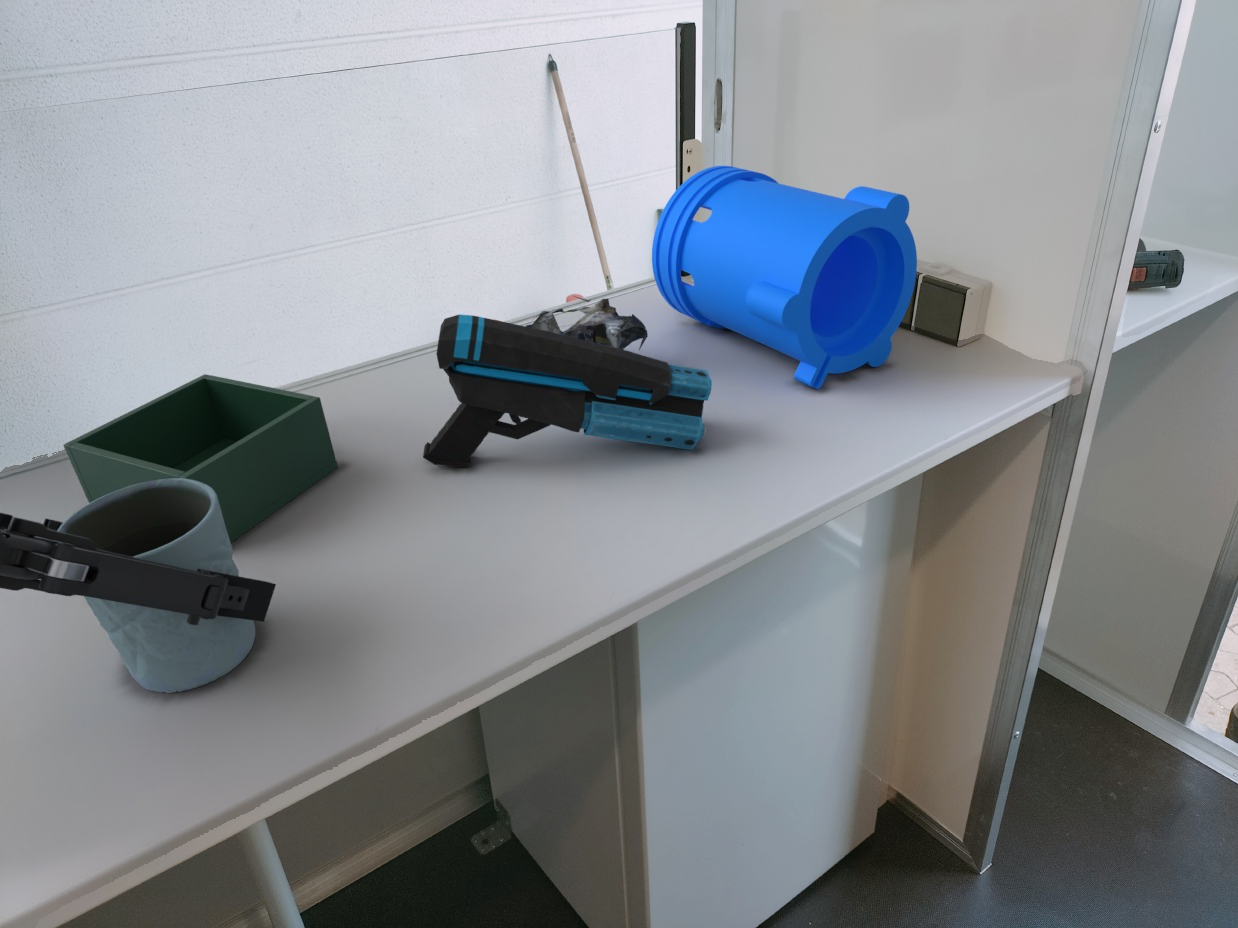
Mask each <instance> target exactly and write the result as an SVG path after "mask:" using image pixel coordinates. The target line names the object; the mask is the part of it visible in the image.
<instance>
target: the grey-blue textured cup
mask: <svg viewBox="0 0 1238 928" xmlns="http://www.w3.org/2000/svg"><path fill="white" fill-rule="evenodd" d="M57 531H59V532H63V533H68V534H72V535H76V536H81V537H85V538H88V539H90V540H91V541H92V542H93V543H94V545H95V548H96V549H99V550H104V551H108V552H113V553H117V554H122V555H126V556H131V557H135V558H139V559H144V560H148V561H153V562H157V563H162V564H166V565H171V566H175V567H180V568H184V569H189V570H193V571H197V570H198V569H203V570H208V571H213V572H218V573H224V574H229V575H234V576H239V577H240V575H239V569H238V567H237V565H236V562H235V561H234V559H233V546H232V542H231V543H230V540H229V536H228V533H227V530H226V527H225V523H224V519H223V516H222V512H221V509H220V505H219V501H218V498H217V494H216V493H215V491H214V490H213V489H212V488H211V487H210V486H208V485H206V484H204V483H201V482H198V481H195V480H191V479H185V478H172V479H160V480H154V481H149V482H144V483H139V484H135V485H132V486H128V487H125V488H122V489H120V490H117V491H114V492H112V493H109V494H107V495H105V496H102V497H100V498H98V499H96V500H94V501H92V502H91V503H89V502H88V503H87V504H86V505H84V506H81V508H79V509H78V510H77V511H75V512H74V513H72V514H71V515H70V516H69V517H68V518H67V519H66V520H65V521H64V522H63V524H62V525H61V526H60V527H59V528H58V530H57ZM54 541H55V540H54ZM57 542H59V541H57ZM60 543H62V544H63V543H64V542H60ZM72 545H73V544H72ZM73 547H76V546H75V545H73ZM83 597H84V599H85V601H86V602H87V605H88V606H89V608H90V610H91V611H92V613H93V614H94V616H95V617H96V619H97V621H98V622H99V625H100V627H101V628H102V629H103V630H104V631H105V632H106V633H107V635H108V636H109V640H110V642H111V643H112V644H113V646H114V647H115V649H116V650H117V653H118V654H119V657H120V659H121V661H122V662H123V664H124V665H125V667H126V670H127V671H128V672H129V674H130V675H131V677H132V678H133V679H134V680H135V681H136V682H137V684H138V685H139V686H141V687H142V688H144V689H145V690H147V691H150V692H155V693H166V694H173V693H176V692H179V693H182V692H184V691H190V690H192V689H196V688H198V687H201V686H204V685H208V684H209V683H211V682H213V681H216V680H218V678H221V677H224V676H225V675H227V674H228V673H229V672H231V671H233V670H234V669H235V668H236V667H237V666H239V664H240V663H242V661H243V660H244V659H245V658H246V657H247V655H248V654H250V652H251V650H252V648H253V646H254V642H255V640H256V626H255V625H256V624H255V621H254V620H247V619H239V618H231V617H223V616H216V618H215V619H209V620H207V619H202V618H200V620H199V623H198V625H191V624H188V623H187V619H188V616H189V614H184V613H178V612H173V611H167V610H161V609H155V608H150V607H144V606H138V605H133V604H127V603H121V602H115V601H110V600H104V599H98V598H92V597H87V596H83Z"/></svg>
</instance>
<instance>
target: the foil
mask: <svg viewBox="0 0 1238 928" xmlns="http://www.w3.org/2000/svg"><path fill="white" fill-rule="evenodd" d="M573 298H577V299H579V300H582V301H584V302H586V303H589V302H591V300H590V299H586V298H582V297H578V296H575V295H573ZM578 311H579V312H581V313H583V314H584V316H582V317H581V318H579V320H577V321H576V322H575V323H573V324H571V325H570V324H568V325H566V327H568V326H570V327H569V328H567V329H565V330H564V331H562V330H561V329H560V328H563V327H564V325H563V326H561V327H560V326H559V324H558V321H557V319H556V317H555V314H557V313H563V314H566V313H575V312H578ZM532 321H534V322H533V323H531V324H529V323H528V324H526V325H524V326H525V327H530V328H535V329H540V330H544V331H549V332H553V333H557V334H561V335H565V336H569V337H573V338H577V339H581V340H586V341H590V342H594V343H598V344H602V345H606V346H610V347H614V348H618V349H622V350H625V348H627V347H628V346H630V345H632V343H633V342H636V341H638V340H641V342H640V344H639V348H638V351H640V350H641V349H642V347H643V345H644V343H645V342H646V340H647V338H648V335H649V334H648V330H647V327H646V325H645V324H644V323H643V322H642V321H641V320H640V319H639V318H638V317H637V316H636V315H635V314H634V313H632V314H631V315H619V313H618V312H617V307H614V306H612V305H611V304H610V301H609V298H602V299H600V300H599V302H597V303H595V304H594V305H593V306H583V305H582V306H580V307H579V308H575V309H568V310H564V309H563V308H558V309H552V310H551V311H549V310H543V311H541V312H540V313H539V314H537V317H534V318H533V319H532Z"/></svg>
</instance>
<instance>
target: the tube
mask: <svg viewBox="0 0 1238 928" xmlns="http://www.w3.org/2000/svg"><path fill="white" fill-rule="evenodd" d="M700 208H702V209H706V210H709V211H711V214H710V215H709V217H708V218H707V219H706V220H705V221H702V222H700V221H697V220H695V219H694V218H695V216H696V214H697V213H698V211H699V210H700ZM909 213H910V201H909V199H908V197H907V195H904V194H901V193H896V192H892V191H887V190H882V189H877V188H873V187H869V186H865V185H864V186H863V185H861V186H856V187H853V188H852V189H850V190H849V191H848V192H847V193H846V195H845V197H844V198H843V197H839V196H838V197H837V196H833V195H829V194H825V193H820V192H817V191H812V190H808V189H804V188H799V187H796V186H791V185H786V184H783V183H779V182H778V181H777V180H776V179H774V178H773V177H771V176H770V175H767V174H765V173H762V172H758V171H753V170H749V169H745V168H740V167H737V166H731V165H714V166H711V167H707V168H705V169H702V170H699V171H698V172H696V173H694V174H693V175H691V176H690V177H689V178H688V179H686V180H685V181H684V182H683V183H681V185H679V187H678V188H677V189H676V190H675V191H674V192H673V194H672V195H671V196H670V197H669V199H668V200H667V203H666V204H665V206H664V207H663V210H662V211H661V213H660V216H659V219H658V220H657V224H656V227H655V230H654V234H653V240H652V247H651V265H652V266H651V267H652V272H653V277H654V281H655V284H656V286H657V289H658V291H659V293H660V295H661V296H662V298H663V299H664V301H665V302H666V303H667V304H668V305H669V306H670V307H671V308H672V309H673V310H675V311H677V312H678V313H680V314H681V315H685V316H687V317H688V318H691V319H693V320H695V321H698V322H699V323H701V324H704V325H707V326H709V327H712V328H716V329H728V330H731V331H732V332H735V333H737V334H739V335H742V336H744V337H746V338H748V339H751V340H753V341H755V342H757V343H759V344H762V345H763V346H765V347H768V348H770V349H773V350H775V351H777V352H779V353H781V354H784V355H786V356H788V357H790V358H793V359H795V360H797V361H799V364H798V366H797V368H796V370H795V372H794V375H793V378H794V379H795V381H798V382H801V383H802V384H805V385H806V386H808V387H810V388H813V389H816V390H819V389H821V388H822V387H823V385H824V382H825V380H826V378H827V376H828V374H844V373H847V372H848V373H849V372H851V371H854V370H856V369H858V368H860V367H862V366H864V365H865V364H866V365H867V366H869V367H872V368H878V367H880V366H882V365H883V364H884V363H885V362H886V361H887V360H888V358H889V356H890V355H891V352H892V349H893V348H892V347H893V341H892V337H893V336H894V334H895V333H896V332H897V330H898V328H899V327H900V325H901V323H902V322H903V319H904V317H905V315H906V312H907V310H908V308H909V305H910V303H911V299H912V297H913V294H914V289H915V286H916V285H915V284H916V279H917V272H918V271H917V270H918V256H917V246H916V242H915V238H914V235H913V232H912V230H911V228H910V227H909V225H908V223H907V219H908V218H909ZM682 272H685V273H688V274H689V275H690V276H691V278H692V280H693V285H692V284H690V283H688V282H685V281H683V280H682Z"/></svg>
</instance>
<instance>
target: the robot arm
mask: <svg viewBox="0 0 1238 928" xmlns="http://www.w3.org/2000/svg"><path fill="white" fill-rule="evenodd" d="M63 523H64V522H63V521H59V520H55V519H51V518H44V521H43V523H42V522H39V521H34V520H31V519H26V518H21V517H17V516H13V515H12V514H9V513H4V512H1V511H0V589H4V590H9V591H17V592H18V591H20V590H24V589H27V590H33V591H38V592H44V593H47V594H51V595H59V596H64V597H73V596H79V597H80V596H81V597H84V596H87V597H92V598H98V599H104V600H110V601H115V602H121V603H127V604H133V605H138V606H144V607H150V608H155V609H161V610H167V611H173V612H178V613H184V614H189V616H188V619H187V623H188V624H191V625H198V623H199V620H200V618H202V619H207V620H209V619H215V618H216V616H223V617H231V618H239V619H247V620H253V621H254V622H265V620H266V617H267V615H268V614H267V613H268V611H269V609H270V608H269V607H270V605H271V601H272V598H273V595H274V593H275V589H276V585H277V584H276V583H274V582H270V581H266V580H258V579H255V578H250V577H245V576H240V575H239V576H234V575H229V574H224V573H218V572H213V571H208V570H203V569H198V570H197V571H193V570H189V569H184V568H180V567H175V566H171V565H166V564H162V563H157V562H153V561H148V560H144V559H139V558H135V557H131V556H126V555H122V554H117V553H113V552H108V551H104V550H99V549H96V548H95V545H94V543H93V542H92V541H91V540H90V539H88V538H85V537H81V536H76V535H72V534H68V533H63V532H59V531H57V530H58V528H59V527H60V526H61V525H62V524H63ZM54 540H55V541H54ZM57 541H59V542H57ZM60 542H64V543H63V544H62V543H60ZM72 544H73V545H75V546H76V547H73V545H72Z"/></svg>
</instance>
